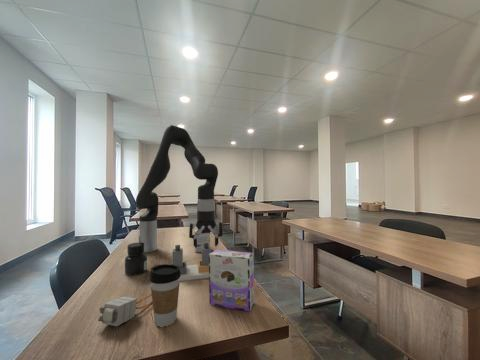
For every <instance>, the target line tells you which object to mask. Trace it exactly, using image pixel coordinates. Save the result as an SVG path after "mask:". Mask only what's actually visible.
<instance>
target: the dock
mask: <svg viewBox="0 0 480 360" xmlns="http://www.w3.org/2000/svg"><path fill="white" fill-rule="evenodd" d="M174 246H175V248H173V249H172V255H171V256H172V262H170V263H169V265H176V266H178V267H179V268H180V272H181V274H180V275H181V276H180V278H179V282H182V281H192V280H202V279H203V280H204V279H209V265H205V266H202V264H201V260H197V263H196V264H189V265H188V263H187V261H184V250H183V248H182V247H181V244H175V245H174Z"/></svg>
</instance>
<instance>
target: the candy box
mask: <svg viewBox="0 0 480 360" xmlns="http://www.w3.org/2000/svg"><path fill="white" fill-rule="evenodd" d="M254 254H255V253H254V252H249V251H248V252H246V251H236V250H228V249H226V250H225V249H215V250H213V251H211V253H210V254H209V278H208V283H209V285H208V287H209V289H208V290H209V291H208V292H209V295H208V296H209V297H208V298H209V305H210V304H211V306H214V307H215V306H216V307H223V308H227V309H231V310H238V311H244V312H251V311H252V308H253V306H254V304H255V267H254V266H255V264H254V259H255V258H254V256H255V255H254Z"/></svg>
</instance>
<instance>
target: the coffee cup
mask: <svg viewBox="0 0 480 360" xmlns="http://www.w3.org/2000/svg"><path fill="white" fill-rule="evenodd" d="M169 264H170V263H169ZM169 264H167V263H166V264H157V265H155V266H152V267H151V268H150V273H149V274H150V275H149V282H150V283H151V286H150V291H151V294H152V295H151V299H152V301H151V302H153V303H152V309H153V311H152V312H153V319H154V325H155V324H156V325H158V326H166V327H168V326H167V325H170V324H172V323H173V322H174V321H175V320H176V321H177V318H178V317H177V316H178V315H177V314H178V305H179V304H178V303H179V293H180V281H179V278H180V276H181V275H180V274H181V272H180V268H179V267H178V266H176V265H169ZM176 321H175V322H176ZM175 322H174V323H175ZM174 323H173V324H174ZM173 324H172V325H173ZM156 325H155V326H156ZM158 326H157V327H158ZM170 326H171V325H170Z"/></svg>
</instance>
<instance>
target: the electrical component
mask: <svg viewBox="0 0 480 360" xmlns="http://www.w3.org/2000/svg"><path fill="white" fill-rule="evenodd" d="M150 297H152V293H151V294H148V295H147V296H145V297H144V298H142V299H140V300H138V301H137V297H136V298H135V297H129V296H124V295H123V296H121V297H118V298H115V299H112V300H111V301H110V300H109V301H108V302H105V303H104V306H100V308H99V312H100V315H99V318H98V320H97V321H98V322H101V324H104V325H109V326H114V327H118V326H120V325H122V324H123V323H125V322H128V321H129V320H131V319H133V318H134V317H135V316H136V310H140V309H141V310H142V309H143V308H146V307H148V306H149V305H151V304H153V302H152V301H151V302H150V303H147V304H145V305H143V306H139V307H136V306H137V304H139V303H141V302H143V301H145V300H146V299H148V298H150ZM132 317H133V318H132Z"/></svg>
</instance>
